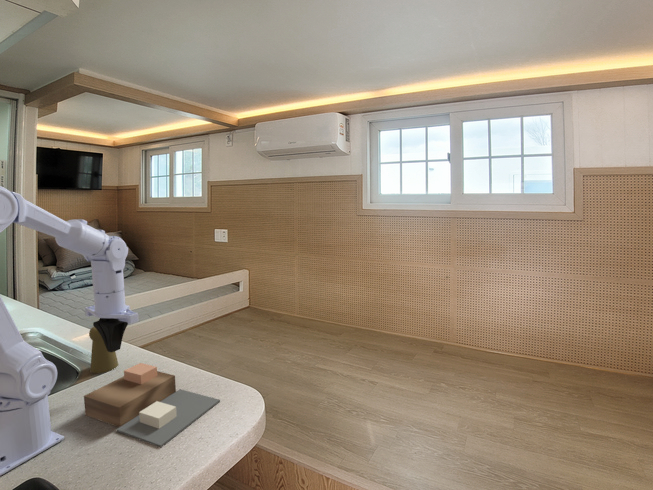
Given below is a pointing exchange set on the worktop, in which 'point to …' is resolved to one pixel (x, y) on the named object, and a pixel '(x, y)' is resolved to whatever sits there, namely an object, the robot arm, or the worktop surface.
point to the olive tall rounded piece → (101, 354)
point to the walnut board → (127, 398)
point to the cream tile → (157, 414)
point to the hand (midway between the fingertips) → (114, 350)
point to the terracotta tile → (140, 373)
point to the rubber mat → (187, 413)
